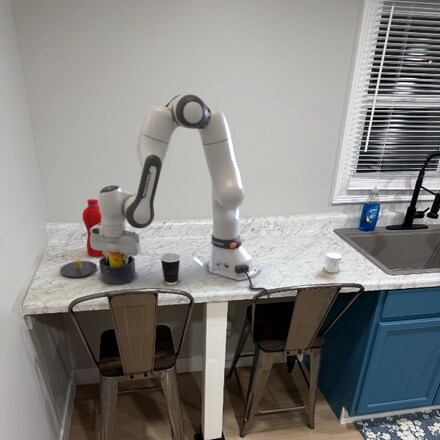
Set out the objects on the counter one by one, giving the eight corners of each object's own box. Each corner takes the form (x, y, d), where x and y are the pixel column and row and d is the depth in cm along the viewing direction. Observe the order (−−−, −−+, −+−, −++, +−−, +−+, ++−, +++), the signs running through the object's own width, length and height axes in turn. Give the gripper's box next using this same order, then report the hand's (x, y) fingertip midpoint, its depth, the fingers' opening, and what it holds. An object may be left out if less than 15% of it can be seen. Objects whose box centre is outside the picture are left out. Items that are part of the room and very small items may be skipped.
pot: (143, 269, 171) (142, 253, 167) (122, 290, 155) (121, 272, 151) (115, 265, 174) (113, 249, 170) (91, 284, 158) (88, 267, 154)
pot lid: (103, 266, 173) (102, 256, 171) (85, 280, 161) (83, 270, 158) (73, 261, 176) (72, 251, 174) (53, 275, 164) (51, 265, 162)
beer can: (122, 279, 161) (119, 244, 154) (108, 278, 162) (104, 243, 155) (128, 273, 166) (125, 239, 159) (115, 271, 167) (111, 237, 160)
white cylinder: (330, 274, 173) (332, 259, 169) (319, 268, 178) (322, 253, 174) (342, 271, 175) (345, 256, 172) (331, 265, 181) (334, 250, 177)
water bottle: (114, 248, 190) (108, 196, 177) (104, 258, 180) (98, 203, 168) (95, 247, 191) (88, 194, 179) (85, 256, 181) (77, 201, 169)
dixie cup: (171, 275, 167) (170, 251, 161) (185, 281, 163) (184, 256, 157) (157, 282, 161) (155, 257, 156) (171, 288, 157) (170, 263, 152)
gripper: (142, 229, 155) (144, 262, 162) (94, 223, 159) (98, 255, 166) (134, 235, 150) (137, 268, 156) (85, 228, 154) (90, 261, 161)
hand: (117, 261), depth 161 cm, fingers closed on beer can, 6 cm apart
